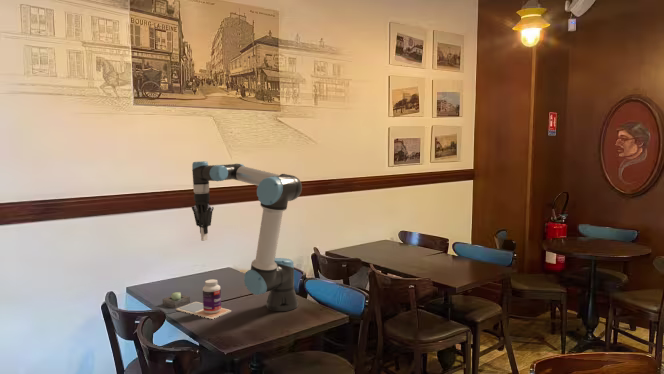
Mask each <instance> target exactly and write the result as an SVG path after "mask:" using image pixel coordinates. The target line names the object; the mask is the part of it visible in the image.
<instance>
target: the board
mask: <svg viewBox="0 0 664 374" xmlns="http://www.w3.org/2000/svg"><path fill="white" fill-rule="evenodd" d="M175 311H179V312H182V313H185V312H186V314H189V313H190V314H189V315H192V314H194V315H193V316H196V315H198V317H200V316H201V318H204V317H205V318H204V319H207V318H209V319H208V320H211V319H213V320H215V319H217V318H219V316H220V317H222V316H224V315H227V314H229V313H231V312H232V310H231V309H228V308H223V307H221V310H220V311H219V312H218V313H213V314H208V313H205V312H204V310H203V302H199V301H194V302H190V303H188V304H185V305H183V306H180V307H177V308H175ZM214 318H215V319H214Z"/></svg>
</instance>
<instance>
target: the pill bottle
mask: <svg viewBox="0 0 664 374" xmlns="http://www.w3.org/2000/svg"><path fill="white" fill-rule="evenodd" d="M204 283H205V284H204V286H203V287H202V303H203V310H204V312H205V313H208V314H213V313H218V312H219V311H220V310H221V308H222V296H221V294H222V292H221V291H222V289H221V285H219V282H218V279H208V280H207V279H206V280H205V281H204Z"/></svg>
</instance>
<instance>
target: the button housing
mask: <svg viewBox="0 0 664 374" xmlns="http://www.w3.org/2000/svg"><path fill="white" fill-rule="evenodd" d="M188 304H191V297H190V296H189V295H183V294H181V299H178V300H172V297H171V295H170V296H167V297H165V298H162V305H163V306H165V307H169V308H173V309H177V308H180V307H183V306H185V305H188Z"/></svg>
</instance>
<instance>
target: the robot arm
mask: <svg viewBox="0 0 664 374" xmlns="http://www.w3.org/2000/svg"><path fill="white" fill-rule="evenodd" d="M191 167H192V169H191V170H192V184H193V185H192V187H193V193H194V194H193V200H194V201H195V202H194V206H192V207H191V209H192V210H191V211H192V212H193V216H194V219H195V220H194V221H195V225H196V227H198V228H199V233H200V238H201V239H200V240H201V241H208V234H209V231H208V228H209V227H210V226H211V225H212V219H213V218H212V217H213V212H214V210H215V209H214V206H211V204H210V200H211V197H210V194H211V193H210V182H223V181H229V180H235V181H239V182H242V183H247V184H250V185H254V186H256V196H257V197H258V198H257V199H258V201H259V202H260V204H259V205H260V207H261V208H262V215H261V222H260V227H259V233H258V234H259V235H258V242H257V249H256V253H255V254H256V255H255V259H253V260H252V261H251V265H250V269H248V270H247V271H246V272H245V273H244V277H243V282H244V284H245V285H244V286H245V287H246V289H247V290H248V292H249V293H251V294H253V295H257V296H258V295H263V294H265V293H268V292H269V294H268V297H267V300H266V308H267V309H268V310H269V311H273V312H288V311H292V310H296V308H298V307H299V300H298V297H297V294H296V291H295V265H294V261H293V260H292V259H290V258H285V257H277V256H276V255H277V249H278V242H279V237H280V231H281V224H282V217H283V212H285V211H287V210H288V209H287V208H288V203H289V202H291V201H295V200H297V199H298V198H299V197H300V195H301V194H302V191H303V185H302V181H301V180H300V179H299V178H298V177H297V176H296V175H291V174H287V173H280V174H278V173H277V174H276V173H275V172H274V173H273V172H269V171H265V170H261V169H260V170H259V169H257V168H254V167H253V168H252V167H248V166H245V165H244V164H243V163H230V164H212V165H209V163H208V161H194V162H192V166H191Z"/></svg>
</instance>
